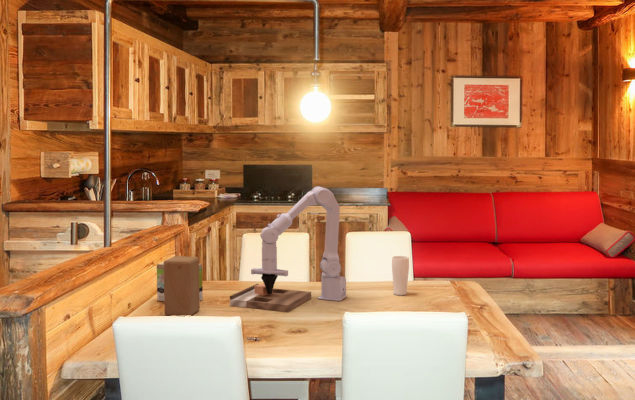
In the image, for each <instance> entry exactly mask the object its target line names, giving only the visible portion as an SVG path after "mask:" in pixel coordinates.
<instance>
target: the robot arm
mask: <svg viewBox="0 0 635 400" xmlns="http://www.w3.org/2000/svg"><path fill="white" fill-rule="evenodd" d="M318 204H319V205H320V206H321V207H322V208H323V209H324V210H325V211H326V218H325V219H326V220H325V235H324V236H325V237H324V239H325V241H324V251H323V253H322V258H321V261H320V262H319V268H320V269H321V271H322V272H321V279H320V280H321V282H320V283H321V289H320V290H321V295H320V296H318V297H317V299H318V300H323V301H324V300H326V301H337V302H341V301H342V300H344V299H345V298H347V297H348V295H347V279H346V277H345V276H341V271H342V266H341V263H340V257H339V255H340V254H339V253H338V251H339V250H338V249H339V234H340V233H339V230H340V213H341V212H340V209H341V207H340V205H339V203H338V201H337V198H336V197H335V195H334V193H333V192H332V191H331V190H330V189H328V188H326V187H322V186H318V185H317V186H314V187H313V188H312V189H311V190H309V191H307V192H306V194H304V195H303V196H302V197H301V198H300V200H298V202H297V203H295V204H294V205H293V206H292V207H291V209H289V210H288V211H287V212H283V213H281V214H280V213H278V214H277V215H276V218H275V219H274V220H272V222H271V223H268V224H267V226H266V227H263V229H262V230H261V232H260V234H259V236H260V238H261V240H262V241H261V268H255V267H253V268H251V269H250V274H251V275H261V277H260V278H261V280H262V282H263V284H265V287H266V290H267V294H271V293H272V291H273V288H274V287H275V283H276V281H277V278H278V277H279V276H280V277H288V276H289V270H287V269H286V270H285V269H278V258H277V257H278V253H277V252H278V249H277V248H278V247H277V241H278V240H279V236H281V235H282V234H283V233H284V232H285V231H286V230H287V229H289V227H291V226H292V224H293V220H294V219H295V218H296V217H297V216H298V215H300V214H301V213H302V212H303V211H304V210H305V209H307V208H308V207H311V206H317V205H318Z"/></svg>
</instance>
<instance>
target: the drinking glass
mask: <svg viewBox="0 0 635 400" xmlns="http://www.w3.org/2000/svg"><path fill="white" fill-rule="evenodd" d="M391 272H392V273H391V274H392V287H393V294H394V295H395V296H406V295H407V293H408V280H409V272H410V257H408V256H404V255H396V256H392V257H391Z"/></svg>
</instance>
